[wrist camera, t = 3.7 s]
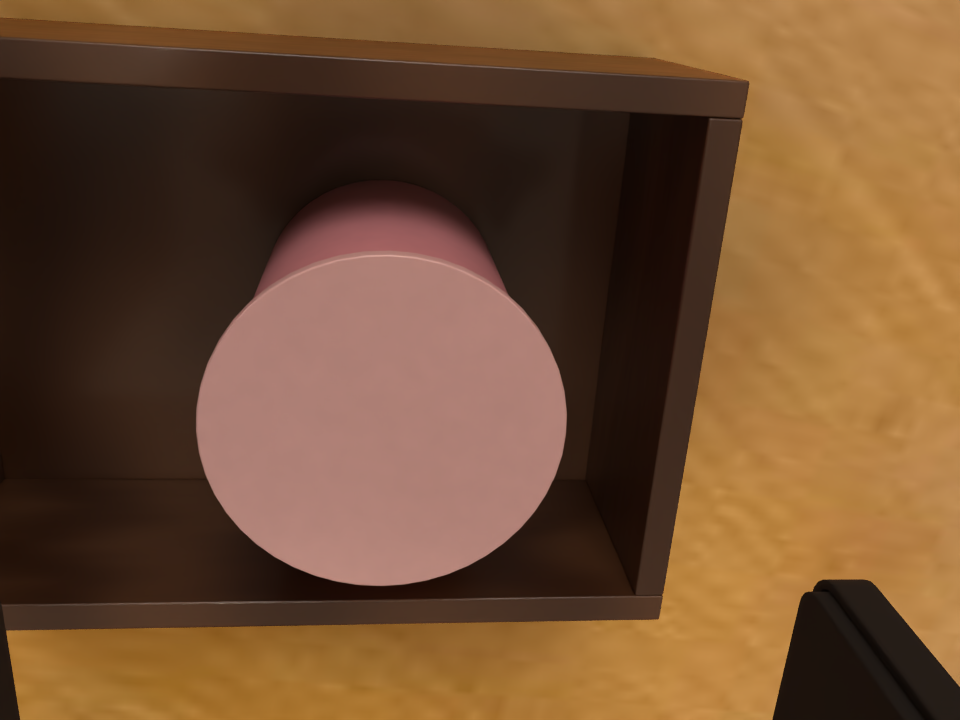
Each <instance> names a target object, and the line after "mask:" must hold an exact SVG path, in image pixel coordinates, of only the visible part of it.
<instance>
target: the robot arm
mask: <svg viewBox="0 0 960 720" xmlns="http://www.w3.org/2000/svg"><path fill="white" fill-rule="evenodd" d="M0 720H20V716H19V710H18V704H17V697H16V691H15V685H14V679H13V672H12V666H11V660H10V654H9V647H8V641H7V635H6V628H5V622H4V616H3V610H2V605H1V601H0ZM773 720H960V687H959V686H958V684H957V683H956V682H955V681H954V680H953V678H952V677H951V676H950V675H949V674H948V672H947V671H946V670H945V669H944V668H943V666H942V665H941V664H940V663H939V662H938V660H937V659H936V658H935V657H934V656H933V654H932V653H931V652H930V651H929V650H928V648H927V647H926V646H925V645H924V644H923V642H922V641H921V640H920V639H919V638H918V636H917V635H916V634H915V633H914V631H913V630H912V629H911V628H910V627H909V625H908V624H907V623H906V622H905V621H904V619H903V618H902V617H901V616H900V615H899V613H898V612H897V611H896V610H895V609H894V607H893V606H892V605H891V604H890V603H889V601H888V600H887V599H886V598H885V597H884V595H883V594H882V593H881V592H880V591H879V589H878V588H877V587H876V586H875V585H874V584H873V583H872V582H871V581H868V580H821V581H819V582H818V583H817V584H816V585H815V587H814V590H813V592H807V593H804V595H803V596H802V598H801V601H800V604H799V608H798V612H797V617H796V621H795V625H794V629H793V634H792V638H791V642H790V647H789V651H788V655H787V659H786V664H785V668H784V672H783V677H782V681H781V685H780V690H779V694H778V698H777V702H776V707H775V711H774V715H773Z"/></svg>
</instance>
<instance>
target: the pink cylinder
mask: <svg viewBox="0 0 960 720" xmlns="http://www.w3.org/2000/svg"><path fill="white" fill-rule="evenodd" d="M566 423H567V409H566V400H565V391H564V387H563V383H562V379H561V375H560V372H559V369H558V366H557V364H556V362H555V359H554V357H553V354H552V352H551V350H550V348H549V346H548V344H547V342H546V341H545V339H544V337H543V336H542V334H541V332H540V331H539V329H538V327H537V326H536V325H535V323H534V322H533V321H532V320H531V318H530V317H529V316H528V315H527V313H526V312H525V311H524V310H523V308H521V307H520V306H519V305H518V304H517V303H516V302H515V301H514V300H513V299H512V298H511V297H510V296H509V295H508V293H507V291H506V289H505V286H504V284H503V282H502V279H501V277H500V275H499V272H498V270H497V268H496V266H495V263H494V261H493V259H492V256H491V254H490V252H489V249H488V247H487V245H486V243H485V241H484V239H483V238H482V236H481V234H480V233H479V231H478V229H477V228H476V227H475V226H474V224H473V223H472V222H471V221H470V219H469V218H468V217H467V216H466V215H465V214H464V213H463V212H462V211H461V210H460V209H458V208H457V207H456V206H455V205H453V204H452V203H451V202H449V201H448V200H446V199H445V198H443V197H441V196H440V195H438V194H436V193H434V192H432V191H430V190H427V189H425V188H422V187H420V186H417V185H413V184H409V183H405V182H400V181H391V180H368V181H362V182H355V183H351V184H348V185H344V186H341V187H338V188H336V189H333V190H331V191H329V192H327V193H324V194H323V195H321V196H319V197H318V198H316V199H314V200H313V201H311V202H310V203H309V204H307V205H306V206H305V207H304V208H303V209H301V210H300V211H299V212H298V213H297V214H296V215H295V216H294V217H293V218H292V220H291V221H290V222H289V223H288V224H287V226H286V227H285V229H284V230H283V231H282V233H281V234H280V236H279V238H278V240H277V242H276V244H275V246H274V248H273V250H272V253H271V255H270V258H269V260H268V263H267V265H266V268H265V270H264V273H263V275H262V278H261V280H260V283H259V285H258V288H257V290H256V293H255V295H254V298H253V299H252V300H251V301H250V302H249V303H248V304H247V305H246V306H245V307H244V308H243V309H242V310H241V312H240V313H239V314H238V315H237V316H236V317H235V318H234V319H233V320H232V322H231V323H230V325H229V326H228V328H227V329H226V330H225V332H224V333H223V335H222V336H221V338H220V339H219V341H218V343H217V345H216V347H215V349H214V351H213V353H212V355H211V357H210V359H209V361H208V364H207V366H206V369H205V372H204V375H203V379H202V382H201V385H200V389H199V395H198V401H197V407H196V435H197V443H198V450H199V455H200V458H201V462H202V465H203V469H204V472H205V475H206V477H207V479H208V481H209V484H210V486H211V488H212V490H213V492H214V494H215V496H216V498H217V499H218V501H219V502H220V504H221V505H222V507H223V509H224V510H225V512H226V513H227V514H228V515H229V517H230V518H231V519H232V520H233V521H234V523H235V524H236V525H237V526H238V527H239V528H240V530H241V531H243V532H244V533H245V534H246V535H247V536H248V537H249V538H250V539H251V540H252V541H254V542H255V543H256V544H257V545H258V546H260V547H261V548H263V549H264V550H265V551H267V552H268V553H270V554H271V555H273V556H274V557H276V558H277V559H279V560H281V561H283V562H285V563H287V564H289V565H290V566H292V567H294V568H297V569H299V570H302V571H304V572H307V573H309V574H312V575H314V576H318V577H321V578H325V579H329V580H333V581H336V582H343V583H349V584H356V585H370V586H389V585H404V584H409V583H415V582H421V581H426V580H430V579H433V578H437V577H440V576H444V575H447V574H449V573H452V572H454V571H457V570H459V569H462V568H464V567H466V566H468V565H470V564H472V563H474V562H476V561H478V560H479V559H481V558H483V557H485V556H487V555H488V554H489V553H491V552H492V551H494V550H495V549H496V548H498V547H499V546H501V545H502V544H503V543H505V542H506V541H507V540H508V539H509V538H510V537H511V536H512V535H514V534H515V533H516V532H517V531H518V530H519V529H520V528H521V527H522V526H523V525H524V524H525V522H526V521H527V520H528V519H529V518H530V517H531V515H532V514H533V513H534V512H535V510H536V509H537V507H538V506H539V504H540V503H541V501H542V500H543V498H544V497H545V495H546V494H547V492H548V490H549V487H550V485H551V483H552V481H553V479H554V477H555V475H556V472H557V469H558V466H559V463H560V460H561V457H562V454H563V448H564V443H565V437H566Z"/></svg>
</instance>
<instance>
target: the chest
mask: <svg viewBox="0 0 960 720" xmlns="http://www.w3.org/2000/svg"><path fill="white" fill-rule="evenodd" d="M748 88H749V81H746V80H742V79H738V78H734V77H730V76H726V75H722V74H718V73H714V72H709V71H705V70H701V69H697V68H693V67H689V66H685V65H681V64H676V63H672V62H668V61H664V60H660V59H656V58H642V57H626V56H610V55H594V54H578V53H562V52H545V51H529V50H513V49H497V48H481V47H465V46H449V45H432V44H416V43H400V42H384V41H368V40H352V39H335V38H319V37H303V36H287V35H271V34H255V33H238V32H222V31H206V30H190V29H174V28H158V27H142V26H125V25H109V24H93V23H77V22H61V21H45V20H28V19H12V18H0V601H1V605H2V610H3V616H4V622H5V628H6V630H64V629H123V628H181V627H240V626H299V625H357V624H416V623H475V622H533V621H592V620H651V619H659V615H660V609H661V603H662V597H663V596H662V594H663V591H664V585H665V579H666V573H667V567H668V561H669V555H670V549H671V543H672V537H673V531H674V525H675V519H676V513H677V508H678V502H679V496H680V490H681V484H682V478H683V472H684V466H685V460H686V454H687V448H688V442H689V436H690V430H691V425H692V419H693V413H694V407H695V401H696V395H697V389H698V383H699V377H700V371H701V365H702V359H703V353H704V347H705V341H706V336H707V330H708V324H709V318H710V312H711V306H712V300H713V294H714V288H715V282H716V276H717V270H718V264H719V258H720V253H721V247H722V241H723V235H724V229H725V223H726V217H727V211H728V205H729V199H730V193H731V187H732V181H733V175H734V169H735V164H736V158H737V152H738V146H739V140H740V134H741V128H742V120H741V118H743V117H744V112H745V106H746V100H747V94H748ZM368 180H391V181H400V182H405V183H409V184H413V185H417V186H420V187H422V188H425V189H427V190H430V191H432V192H434V193H436V194H438V195H440V196H441V197H443V198H445V199H446V200H448V201H449V202H451V203H452V204H453V205H455V206H456V207H457V208H458V209H460V210H461V211H462V212H463V213H464V214H465V215H466V216H467V217H468V218H469V219H470V221H471V222H472V223H473V224H474V226H475V227H476V228H477V229H478V231H479V233H480V234H481V236H482V238H483V239H484V241H485V243H486V245H487V247H488V249H489V252H490V254H491V256H492V259H493V261H494V263H495V266H496V268H497V270H498V272H499V275H500V277H501V279H502V282H503V284H504V286H505V289H506V291H507V293H508V295H509V296H510V297H511V298H512V299H513V300H514V301H515V302H516V303H517V304H518V305H519V306H520V307H521V308H523V310H524V311H525V312H526V313H527V315H528V316H529V317H530V318H531V320H532V321H533V322H534V323H535V325H536V326H537V327H538V329H539V331H540V332H541V334H542V336H543V337H544V339H545V341H546V342H547V344H548V346H549V348H550V350H551V352H552V354H553V357H554V359H555V362H556V364H557V366H558V369H559V372H560V375H561V379H562V383H563V387H564V391H565V400H566V409H567V423H566V437H565V443H564V448H563V454H562V457H561V460H560V463H559V466H558V469H557V472H556V475H555V477H554V479H553V481H552V483H551V485H550V487H549V490H548V492H547V494H546V495H545V497H544V498H543V500H542V501H541V503H540V504H539V506H538V507H537V509H536V510H535V512H534V513H533V514H532V515H531V517H530V518H529V519H528V520H527V521H526V522H525V524H524V525H523V526H522V527H521V528H520V529H519V530H518V531H517V532H516V533H515V534H514V535H512V536H511V537H510V538H509V539H508V540H507V541H506V542H505V543H503V544H502V545H501V546H499V547H498V548H496V549H495V550H494V551H492V552H491V553H489V554H488V555H487V556H485V557H483V558H481V559H479V560H478V561H476V562H474V563H472V564H470V565H468V566H466V567H464V568H462V569H459V570H457V571H454V572H452V573H449V574H447V575H444V576H440V577H437V578H433V579H430V580H426V581H421V582H415V583H409V584H404V585H389V586H370V585H356V584H349V583H343V582H336V581H333V580H329V579H325V578H321V577H318V576H314V575H312V574H309V573H307V572H304V571H302V570H299V569H297V568H294V567H292V566H290V565H289V564H287V563H285V562H283V561H281V560H279V559H277V558H276V557H274V556H273V555H271V554H270V553H268V552H267V551H265V550H264V549H263V548H261V547H260V546H258V545H257V544H256V543H255V542H254V541H252V540H251V539H250V538H249V537H248V536H247V535H246V534H245V533H244V532H243V531H241V530H240V528H239V527H238V526H237V525H236V524H235V523H234V521H233V520H232V519H231V518H230V517H229V515H228V514H227V513H226V512H225V510H224V509H223V507H222V505H221V504H220V502H219V501H218V499H217V498H216V496H215V494H214V492H213V490H212V488H211V486H210V484H209V481H208V479H207V477H206V475H205V472H204V469H203V465H202V462H201V458H200V455H199V450H198V443H197V435H196V407H197V401H198V395H199V389H200V385H201V382H202V379H203V375H204V372H205V369H206V366H207V364H208V361H209V359H210V357H211V355H212V353H213V351H214V349H215V347H216V345H217V343H218V341H219V339H220V338H221V336H222V335H223V333H224V332H225V330H226V329H227V328H228V326H229V325H230V323H231V322H232V320H233V319H234V318H235V317H236V316H237V315H238V314H239V313H240V312H241V310H242V309H243V308H244V307H245V306H246V305H247V304H248V303H249V302H250V301H251V300H252V299H253V298H254V295H255V293H256V290H257V288H258V285H259V283H260V280H261V278H262V275H263V273H264V270H265V268H266V265H267V263H268V260H269V258H270V255H271V253H272V250H273V248H274V246H275V244H276V242H277V240H278V238H279V236H280V234H281V233H282V231H283V230H284V229H285V227H286V226H287V224H288V223H289V222H290V221H291V220H292V218H293V217H294V216H295V215H296V214H297V213H298V212H299V211H300V210H301V209H303V208H304V207H305V206H306V205H307V204H309V203H310V202H311V201H313V200H314V199H316V198H318V197H319V196H321V195H323V194H324V193H327V192H329V191H331V190H333V189H336V188H338V187H341V186H344V185H348V184H351V183H355V182H362V181H368Z"/></svg>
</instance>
